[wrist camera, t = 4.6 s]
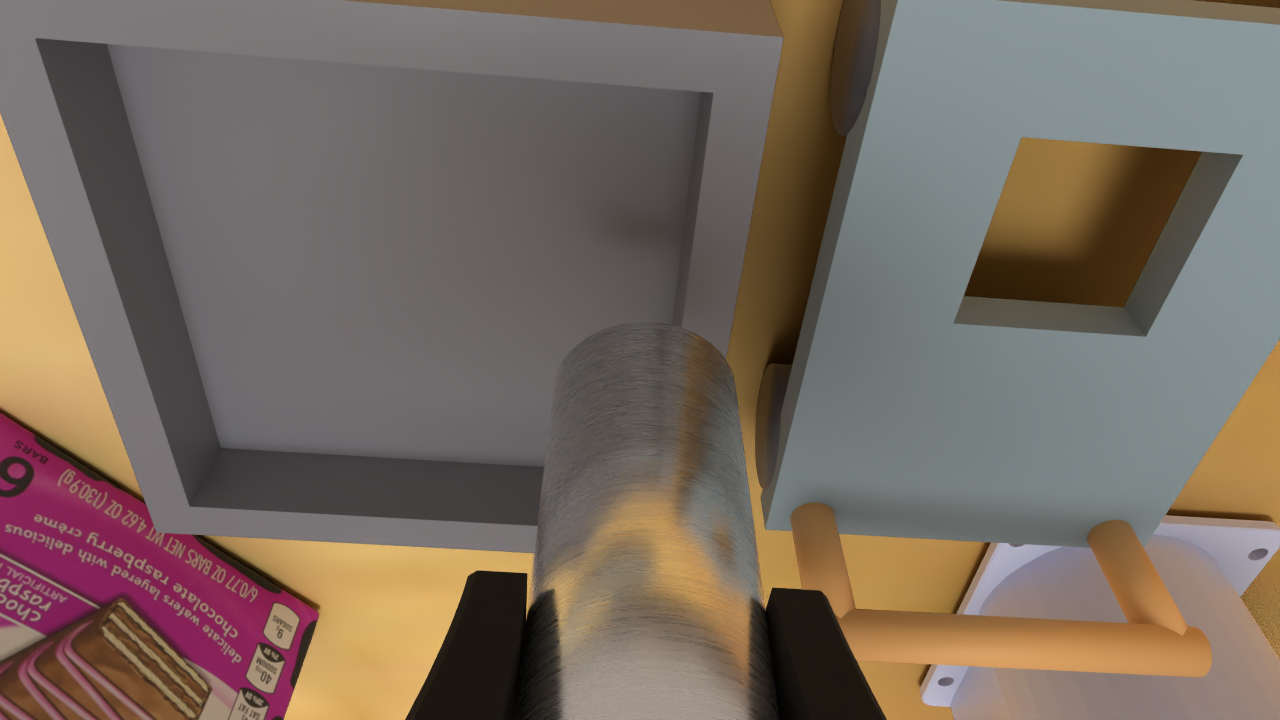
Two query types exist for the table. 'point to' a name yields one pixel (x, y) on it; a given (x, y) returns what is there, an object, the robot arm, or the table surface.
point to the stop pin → (645, 541)
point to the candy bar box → (128, 606)
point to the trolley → (1024, 313)
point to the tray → (377, 234)
